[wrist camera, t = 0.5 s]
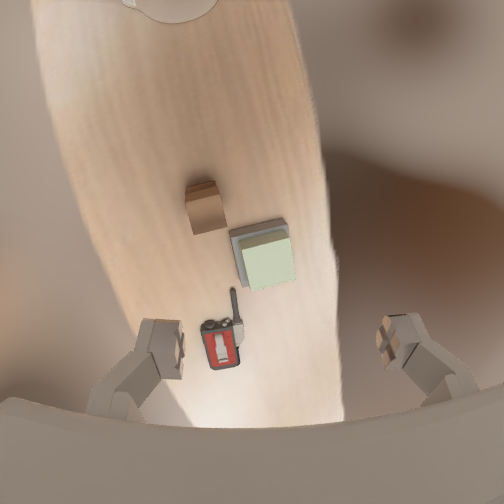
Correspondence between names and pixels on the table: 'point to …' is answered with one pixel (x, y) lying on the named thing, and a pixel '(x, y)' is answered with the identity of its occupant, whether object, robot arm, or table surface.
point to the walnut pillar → (204, 208)
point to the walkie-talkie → (223, 339)
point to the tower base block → (248, 233)
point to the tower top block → (267, 259)
